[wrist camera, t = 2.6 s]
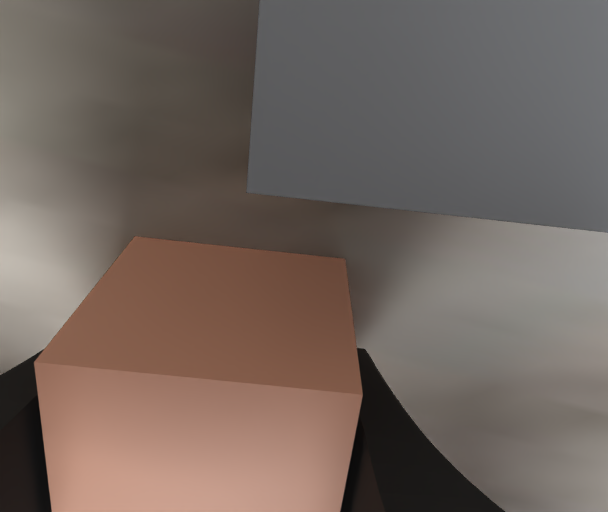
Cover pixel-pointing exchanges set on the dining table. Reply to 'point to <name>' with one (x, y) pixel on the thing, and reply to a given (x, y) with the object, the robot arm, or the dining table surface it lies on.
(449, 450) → the dining table surface
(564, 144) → the gray block
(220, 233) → the dining table surface
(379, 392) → the robot arm
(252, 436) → the terracotta block
